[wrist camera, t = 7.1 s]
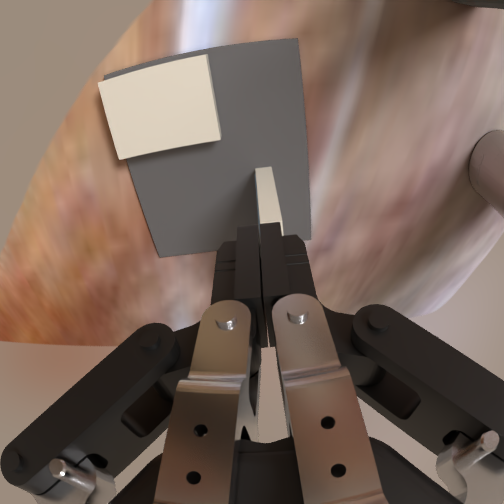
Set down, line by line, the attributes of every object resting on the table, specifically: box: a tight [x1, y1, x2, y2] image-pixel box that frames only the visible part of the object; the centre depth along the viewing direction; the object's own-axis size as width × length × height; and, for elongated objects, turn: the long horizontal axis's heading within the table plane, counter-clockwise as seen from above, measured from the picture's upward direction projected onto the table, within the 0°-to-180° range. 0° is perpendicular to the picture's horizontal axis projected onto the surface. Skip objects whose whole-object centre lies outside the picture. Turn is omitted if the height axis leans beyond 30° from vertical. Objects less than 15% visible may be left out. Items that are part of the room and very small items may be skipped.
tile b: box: [254, 167, 284, 236], centre depth 29 cm, size 2×8×10 cm, turn 7°
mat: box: [104, 38, 311, 257], centre depth 30 cm, size 18×22×1 cm
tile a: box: [98, 54, 222, 160], centre depth 26 cm, size 2×8×10 cm
